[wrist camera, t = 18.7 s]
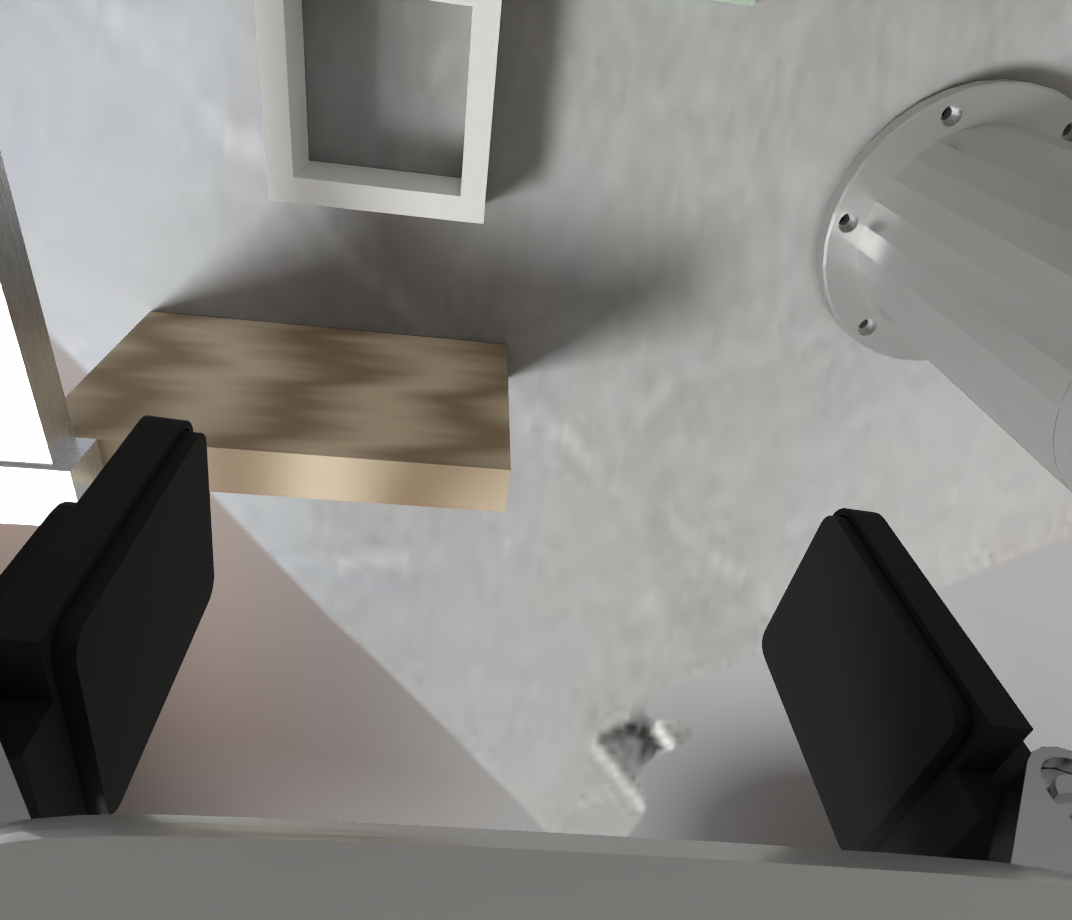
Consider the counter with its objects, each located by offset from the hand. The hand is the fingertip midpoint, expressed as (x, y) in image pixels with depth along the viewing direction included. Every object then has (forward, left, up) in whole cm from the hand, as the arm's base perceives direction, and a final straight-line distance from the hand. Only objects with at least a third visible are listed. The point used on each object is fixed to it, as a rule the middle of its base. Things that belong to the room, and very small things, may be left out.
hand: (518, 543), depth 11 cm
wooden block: (+7, +9, -25) cm, 28 cm away
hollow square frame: (+5, -3, -25) cm, 26 cm away
